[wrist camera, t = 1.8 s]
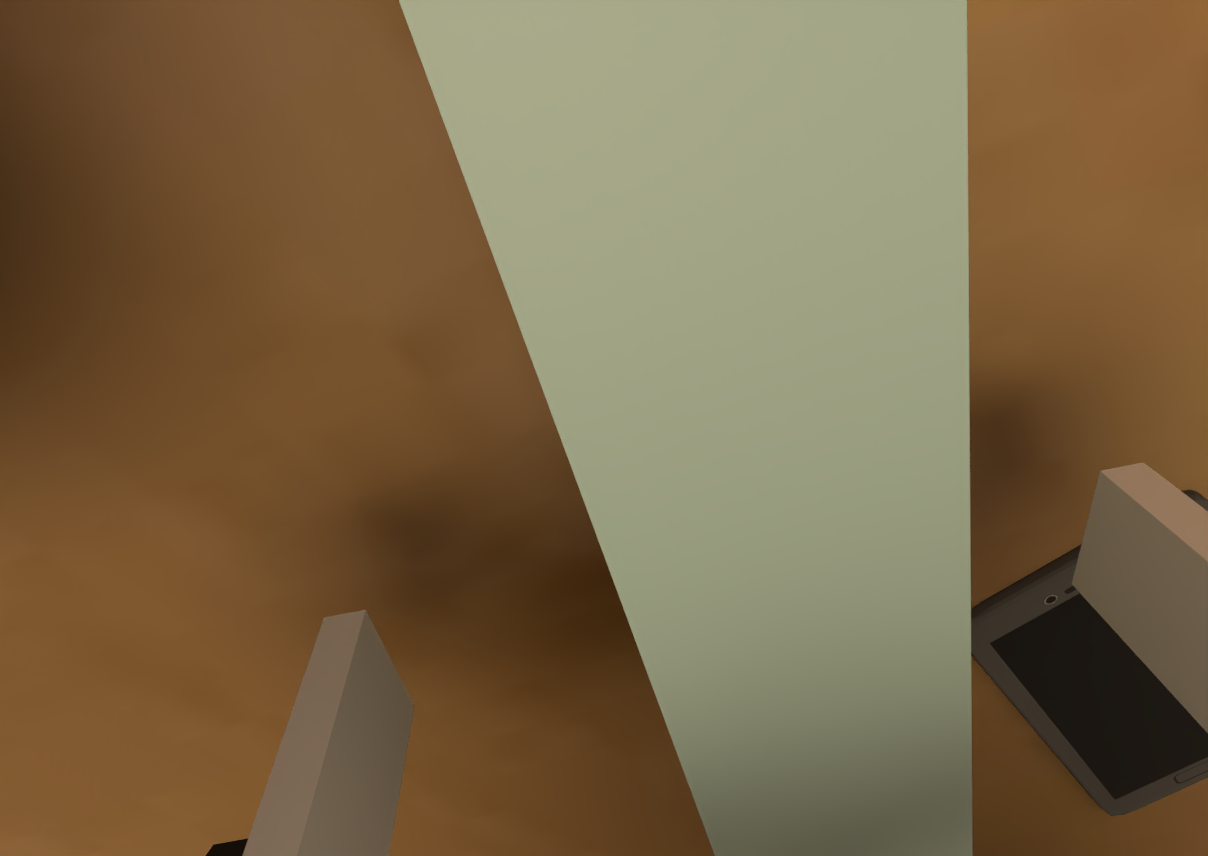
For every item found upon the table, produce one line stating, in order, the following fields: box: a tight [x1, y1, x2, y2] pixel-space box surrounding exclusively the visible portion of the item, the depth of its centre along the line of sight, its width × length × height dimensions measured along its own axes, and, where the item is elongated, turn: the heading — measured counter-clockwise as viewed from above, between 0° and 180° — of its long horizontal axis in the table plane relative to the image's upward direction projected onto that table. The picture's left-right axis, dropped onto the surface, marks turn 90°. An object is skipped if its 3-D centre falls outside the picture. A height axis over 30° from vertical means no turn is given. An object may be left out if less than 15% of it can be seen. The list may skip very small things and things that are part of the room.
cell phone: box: [971, 490, 1208, 816], centre depth 22 cm, size 7×14×1 cm, turn 40°
